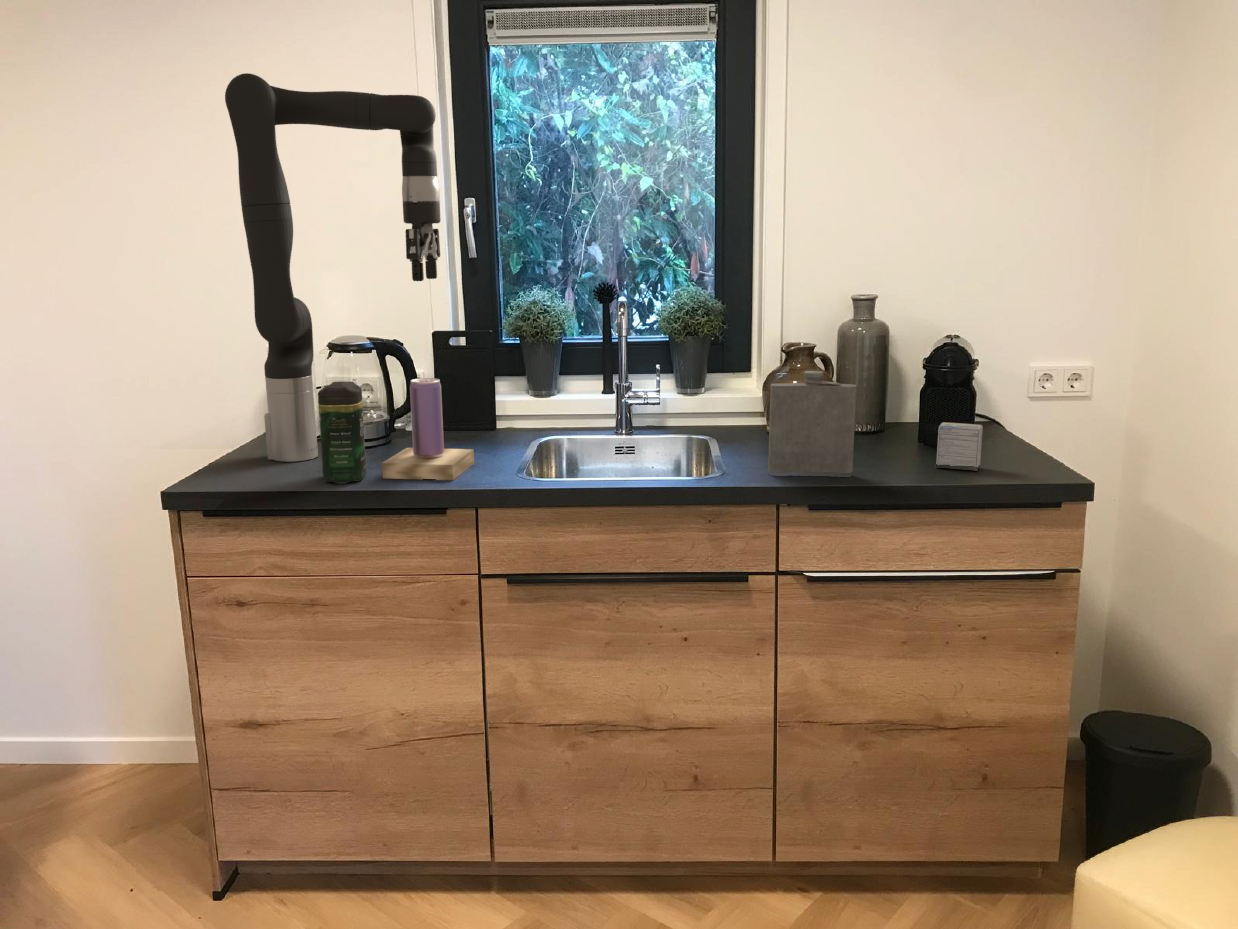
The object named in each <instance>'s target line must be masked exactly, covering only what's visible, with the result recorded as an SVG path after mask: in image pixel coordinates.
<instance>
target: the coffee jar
mask: <svg viewBox="0 0 1238 929" xmlns="http://www.w3.org/2000/svg"><path fill="white" fill-rule="evenodd" d="M362 391H363V390H362V387H361V386H359V384H356V383H355V382H354V381H333V382H332V383H330V384H328V385H326V386H324V387H322V388H321V389H320V390H319V391H318V392H317V403H318V415H319V427H320V428H319V430H320V444H321V446H320V447H321V448H320V449H321V465H322V478H323V480H324V481H325V482H331V483H335V484H347V483H350V482H358V481H361V480H362V479H363V478H364V477H365V476H366V475H367V459H366V444H365V443H366V442H365V441H366V440H365V426H364V424H365V423H364V407H363V406H364V405H363V404H364V403H363V402H364V401H363V396H362V395H363V393H362Z"/></svg>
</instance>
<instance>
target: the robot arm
mask: <svg viewBox="0 0 1238 929" xmlns="http://www.w3.org/2000/svg"><path fill="white" fill-rule="evenodd" d="M224 101H225V106H226V109H227V111H228V116H229V119H230V123H231V127H232V131H233V136H234V140H235V145H236V151H237V160H238V161H237V164H238V168H237V169H238V184H239V196H240V206H241V213H242V219H243V220H242V221H243V225H244V231H245V236H246V242H247V251H248V256H249V262H250V266H251V271H252V280H253V304H254V305H253V306H254V307H253V308H254V322H255V326H256V329H257V331H258V332H259V335H260V336H261V337H262V338H263V340H265V341H267V342H268V343H267V344H268V345H267V346H268V352H267V357H266V360H265V362H264V366H263V369H264V379H265V389H266V390H265V391H266V401H267V402H266V403H267V413H265V414H264V416H263V417H264V419H263V420H264V428H265V430H264V431H265V439H266V440H265V442H266V450H267V451H266V452H267V460H273V461H276V462H285V463H287V462H290V463H291V462H301V461H308V460H313V459H315V458H317V457H318V456H319V451H318V450H319V449H318V448H319V447H318V446H319V445H318V438H317V436H318V435H317V423H316V411H315V398H314V397H315V395H314V384H313V367H312V365H313V362H314V338H313V337H314V336H313V335H314V334H313V332H314V331H313V321H312V317H311V316H312V315H311V313H310V309H309V308H308V306H307V305H306V303H305V302H304V301H303V300H301V299H299V298H297V297H295V296H294V290H293V286H292V279H291V259H292V258H291V257H292V250H293V244H294V243H293V242H294V222H293V220H294V219H293V214H292V212H293V211H292V205H291V200H290V194H289V189H288V184H287V180H286V177H285V174H284V170H283V168H282V163H281V160H280V157H279V152H278V148H277V147H278V146H277V135H276V126H278V125H280V126H281V125H313V126H324V127H332V128H333V127H334V128H343V129H351V130H352V129H353V130H364V131H365V130H367V131H383V130H392V131H393V130H394V131H399V135H400V142H401V171H402V172H401V173H402V174H401V175H402V181H401V182H402V183H401V193H402V194H401V196H402V197H401V198H402V215H403V223H404V224H405V225H406V224H409V225H410V224H411V228H406V229H405V253H406V254H405V258H406V259H407V260H409V262H410V263H411V277H412V278H411V280H412V281H413V282H423V281H424V278H425V277H426V280H427V279H428V280H435V279H437V278H438V270H437V269H438V268H437V261H438V259H439V258H441V248H440V247H441V246H440V230H439V228H434V227H433V226H434V225H433V224H440V223H441V221H442V220H441V219H442V218H441V201H440V185H439V180H438V162H437V161H438V160H437V153H436V151H435V147H434V145H435V144H434V140H435V139H434V124H435V121H436V117H437V115H436V114H437V112H436V109H435V107H434V105H433V103H432V102H431V101H430V100H429V99H427V98H425V97H424V96H420V95H417V94H416V95H413V94H379V93H378V94H377V93H372V92H371V93H370V92H361V91H346V90H345V91H344V90H340V91H339V90H330V91H329V90H328V91H301V90H294V89H293V90H292V89H287V88H281V87H279V86H278V87H277V86H273V85H270V84H269V82H268V81H266V80H265V79H264V78H263V77H260V76H258V75H256V74H254V73H248V72H247V73H241V74H238V75H236V76H234V77H233V78H232V79H231V80H230V82H229V83H228V84H227V86H226V89H225V92H224ZM424 260H425V262H423V261H424ZM424 263H425V272H424ZM424 273H425V274H424ZM424 275H425V277H424Z"/></svg>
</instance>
